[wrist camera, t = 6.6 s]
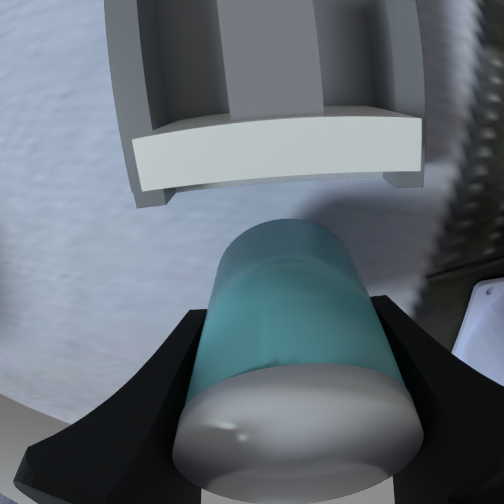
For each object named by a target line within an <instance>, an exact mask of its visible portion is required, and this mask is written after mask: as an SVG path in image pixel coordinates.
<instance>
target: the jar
mask: <svg viewBox="0 0 504 504" xmlns="http://www.w3.org/2000/svg"><path fill="white" fill-rule="evenodd" d="M423 438H424V432H423V429H422V426H421V423H420V420H419V417H418V414H417V411H416V408H415V406H414V403H413V400H412V397H411V395H410V393H409V392H408V390H407V389H406V387H405V384H404V382H403V379H402V376H401V374H400V371H399V368H398V366H397V363H396V360H395V358H394V355H393V353H392V350H391V347H390V345H389V342H388V340H387V337H386V335H385V332H384V330H383V327H382V325H381V323H380V320H379V318H378V315H377V313H376V311H375V308H374V306H373V304H372V301H371V299H370V297H369V294H368V292H367V290H366V288H365V285H364V283H363V281H362V279H361V276H360V274H359V272H358V270H357V268H356V265H355V263H354V261H353V259H352V257H351V255H350V253H349V251H348V249H347V248H346V246H345V245H344V243H343V242H342V241H341V240H340V239H339V238H338V237H337V236H336V235H335V234H333V233H332V232H331V231H329V230H327V229H326V228H324V227H322V226H320V225H317V224H315V223H312V222H308V221H304V220H297V219H280V220H273V221H269V222H265V223H262V224H259V225H257V226H254V227H252V228H250V229H249V230H247V231H245V232H244V233H242V234H241V235H240V236H238V237H237V238H236V239H235V240H234V241H233V242H232V243H231V244H230V245H229V247H228V248H227V249H226V251H225V252H224V254H223V256H222V258H221V260H220V263H219V266H218V269H217V273H216V277H215V281H214V285H213V289H212V293H211V297H210V301H209V305H208V309H207V314H206V318H205V322H204V326H203V330H202V334H201V338H200V342H199V347H198V351H197V355H196V359H195V364H194V368H193V372H192V377H191V381H190V385H189V390H188V394H187V399H186V403H185V408H184V409H183V411H182V413H181V416H180V419H179V423H178V428H177V432H176V437H175V441H174V446H173V451H172V459H173V463H174V465H175V467H176V468H177V470H178V471H179V472H180V473H181V474H182V475H183V476H184V477H185V478H186V479H187V480H189V481H190V482H192V483H193V484H195V485H197V486H199V487H200V488H203V489H204V490H207V491H209V492H212V493H214V494H217V495H220V496H223V497H227V498H230V499H235V500H239V501H245V502H250V503H259V504H306V503H315V502H321V501H326V500H332V499H336V498H340V497H344V496H348V495H351V494H354V493H357V492H360V491H362V490H365V489H367V488H370V487H372V486H374V485H376V484H379V483H381V482H382V481H384V480H386V479H388V478H390V477H391V476H393V475H394V474H396V473H397V472H399V471H400V470H401V469H402V468H404V467H405V466H406V465H407V464H408V463H409V462H410V461H411V460H412V459H413V458H414V457H415V456H416V454H417V453H418V451H419V450H420V448H421V446H422V442H423Z"/></svg>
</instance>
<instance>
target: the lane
mask: <svg viewBox="0 0 504 504" xmlns="http://www.w3.org/2000/svg"><path fill="white" fill-rule="evenodd" d="M312 1H313V8H314V16H315V24H316V32H317V40H318V49H319V59H320V69H321V80H322V92H323V106H370V107H375V108H380V109H384V110H389V111H393V112H398V113H402V114H406V115H410V116H414V117H418V118H422V141H421V170H420V171H390V172H352V173H328V174H310V175H294V176H280V177H267V178H255V179H244V180H233V181H223V182H214V183H205V184H196V185H188V186H180V187H172V188H164V189H157V190H150V191H143V192H142V189H141V184H140V179H139V174H138V169H137V164H136V159H135V154H134V149H133V143H132V139H134V138H136V137H139V136H141V135H143V134H146V133H148V132H151V131H153V130H155V129H158V128H160V127H163V126H165V125H168V124H170V123H173V122H175V121H178V120H182V119H188V118H195V117H201V116H208V115H216V114H224V113H230V109H229V101H228V93H227V84H226V76H225V67H224V59H223V50H222V42H221V33H220V25H219V16H218V7H217V0H104V9H105V23H106V35H107V45H108V55H109V63H110V72H111V79H112V87H113V94H114V101H115V107H116V113H117V119H118V125H119V131H120V137H121V142H122V147H123V152H124V158H125V163H126V167H127V172H128V177H129V182H130V186H131V191H132V193H134V198H135V202H136V206H137V208H144V207H152V206H160V205H166V204H167V203H168V202H169V201H170V199H171V198H172V197H173V196H174V194H175V193H176V192H185V191H193V190H202V189H211V188H221V187H231V186H241V185H253V184H264V183H277V182H291V181H306V180H323V179H344V178H371V177H383V178H384V179H385V180H387V181H388V182H389V183H390V184H391V185H392V186H394V187H395V188H410V187H423V183H424V166H425V129H426V119H425V84H424V67H423V55H422V44H421V35H420V27H419V20H418V13H417V6H416V0H312Z"/></svg>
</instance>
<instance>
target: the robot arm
mask: <svg viewBox="0 0 504 504" xmlns="http://www.w3.org/2000/svg"><path fill="white" fill-rule="evenodd" d="M488 288H489V289H488ZM487 289H488V290H487ZM370 299H371V301H372V304H373V306H374V308H375V311H376V313H377V315H378V318H379V320H380V323H381V325H382V327H383V330H384V332H385V335H386V337H387V340H388V342H389V345H390V347H391V350H392V353H393V355H394V358H395V360H396V363H397V366H398V368H399V371H400V374H401V376H402V379H403V382H404V384H405V387H406V389H407V390H408V392H409V393H410V395H411V397H412V400H413V403H414V406H415V408H416V411H417V414H418V417H419V420H420V423H421V426H422V429H423V432H424V438H423V442H422V446H421V448H420V450H419V451H418V453H417V454H416V456H415V457H414V458H413V459H412V460H411V461H410V462H409V463H408V464H407V465H406V466H405V467H404V468H402V469H401V470H400V471H399V472H397V473H396V474H394V475H393V483H394V497H395V504H504V278H498V279H491V280H485V281H481V282H479V283H477V284H476V285H475V287H474V289H473V292H472V295H471V299H470V302H469V305H468V308H467V311H466V314H465V317H464V320H463V323H462V326H461V329H460V332H459V334H458V337H457V340H456V342H455V345H454V348H453V350H452V353H451V352H449V351H448V350H447V349H446V348H445V347H443V346H442V345H441V344H440V343H438V342H437V341H436V340H435V339H434V338H432V337H431V336H430V335H429V334H428V333H427V332H425V331H424V330H423V329H422V328H421V327H420V326H419V325H418V324H417V323H415V322H414V321H413V320H412V319H411V318H410V317H409V316H408V315H407V314H406V313H405V312H404V311H403V310H402V309H400V308H399V307H398V306H397V305H396V304H395V303H394V302H393V301H392V300H391V299H390V298H389V297H388V296H386V295H382V296H373V297H370ZM206 314H207V309H199V310H189V311H188V313H187V314H186V315H185V316H184V317H183V319H182V320H181V321H180V323H179V324H178V325H177V326H176V328H175V329H174V330H173V331H172V333H171V334H170V335H169V336H168V338H167V339H166V340H165V341H164V343H163V344H162V345H161V346H160V347H159V349H158V350H157V351H156V352H155V353H154V355H153V356H152V357H151V358H150V359H149V360H148V361H147V362H146V363H145V364H144V366H143V367H142V368H141V369H140V370H139V371H138V372H137V373H136V374H135V375H134V376H133V377H132V378H131V379H130V380H129V381H128V382H127V383H126V384H125V385H124V386H123V387H122V388H120V389H119V390H118V391H117V392H116V393H115V394H114V395H112V396H111V397H110V398H109V399H107V400H106V401H105V402H103V403H102V404H101V405H99V406H98V407H97V408H96V409H94V410H93V411H92V412H90V413H89V414H87V415H86V416H85V417H83V418H81V419H80V420H78V421H77V422H75V423H74V424H72V425H70V426H69V427H67V428H65V429H64V430H62V431H60V432H58V433H56V434H55V435H53V436H51V437H49V438H46V439H44V440H42V441H40V442H38V443H36V444H34V445H32V446H29V447H28V448H27V450H26V452H25V454H24V457H23V459H22V461H21V464H20V466H19V468H18V471H17V473H16V476H15V478H14V480H13V482H14V485H15V487H16V488H17V489H18V490H19V491H21V492H22V493H23V494H25V495H26V496H28V497H29V498H31V499H32V500H33V501H35V502H37V503H38V504H201V488H200V487H199V486H197V485H195V484H193V483H192V482H190V481H189V480H187V479H186V478H185V477H184V476H183V475H182V474H181V473H180V472H179V471H178V470H177V468H176V467H175V465H174V463H173V459H172V451H173V446H174V441H175V437H176V432H177V428H178V423H179V419H180V416H181V413H182V411H183V409H184V408H185V403H186V399H187V394H188V390H189V385H190V381H191V377H192V372H193V368H194V364H195V359H196V355H197V351H198V347H199V342H200V338H201V334H202V330H203V326H204V322H205V318H206ZM0 504H18V503H16V502H14V501H13V500H11V499H9V498H8V497H6V496H4V495H2V494H1V493H0Z"/></svg>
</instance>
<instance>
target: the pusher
mask: <svg viewBox="0 0 504 504" xmlns="http://www.w3.org/2000/svg"><path fill="white" fill-rule="evenodd" d="M217 7H218V16H219V25H220V33H221V42H222V50H223V59H224V67H225V76H226V84H227V93H228V101H229V109H230V113H224V114H216V115H208V116H201V117H195V118H188V119H182V120H178V121H175V122H173V123H170V124H168V125H165V126H163V127H160V128H158V129H155V130H153V131H151V132H148V133H146V134H143V135H141V136H139V137H136V138H134V139H132V143H133V149H134V154H135V159H136V164H137V169H138V174H139V179H140V184H141V189H142V192H143V191H150V190H157V189H164V188H172V187H180V186H188V185H196V184H205V183H214V182H223V181H233V180H244V179H255V178H267V177H280V176H294V175H310V174H328V173H352V172H390V171H420V170H421V141H422V118H418V117H414V116H410V115H406V114H402V113H398V112H393V111H389V110H384V109H380V108H375V107H370V106H323V92H322V80H321V69H320V59H319V49H318V40H317V32H316V24H315V16H314V8H313V1H312V0H217Z"/></svg>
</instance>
